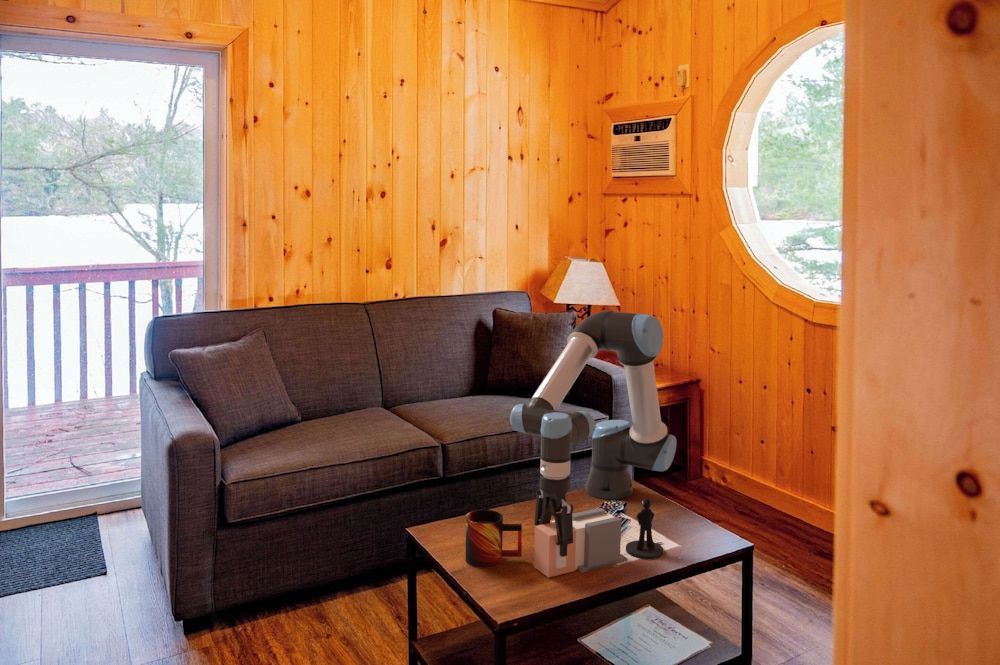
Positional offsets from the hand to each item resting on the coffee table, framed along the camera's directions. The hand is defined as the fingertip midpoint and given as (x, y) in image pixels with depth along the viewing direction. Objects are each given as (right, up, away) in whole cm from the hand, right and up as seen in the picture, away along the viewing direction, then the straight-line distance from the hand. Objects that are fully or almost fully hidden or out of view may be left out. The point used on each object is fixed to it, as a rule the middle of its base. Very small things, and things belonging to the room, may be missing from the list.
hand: (552, 560), depth 213 cm
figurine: (+26, -1, +13) cm, 29 cm away
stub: (0, -2, +1) cm, 2 cm away
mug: (-16, -1, +7) cm, 17 cm away
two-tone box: (+10, -2, +6) cm, 12 cm away
